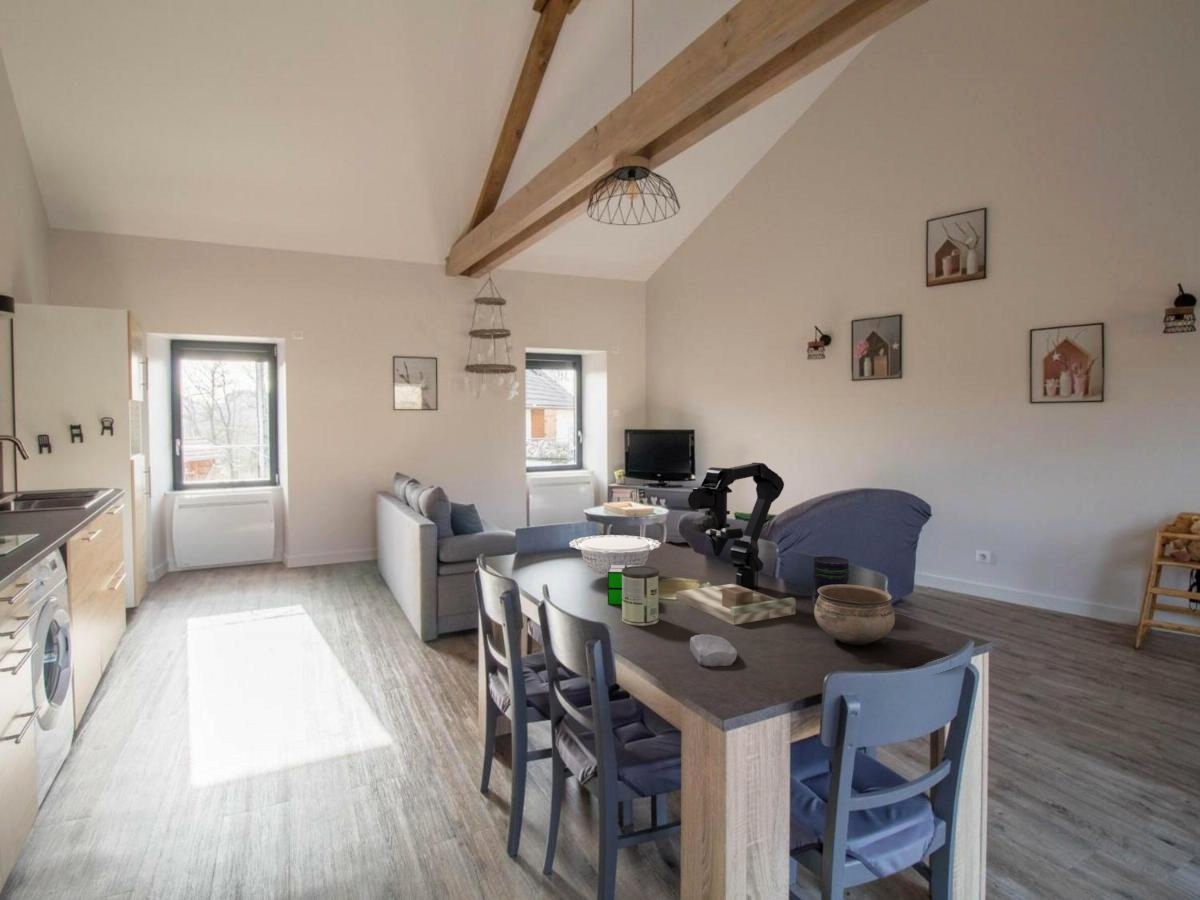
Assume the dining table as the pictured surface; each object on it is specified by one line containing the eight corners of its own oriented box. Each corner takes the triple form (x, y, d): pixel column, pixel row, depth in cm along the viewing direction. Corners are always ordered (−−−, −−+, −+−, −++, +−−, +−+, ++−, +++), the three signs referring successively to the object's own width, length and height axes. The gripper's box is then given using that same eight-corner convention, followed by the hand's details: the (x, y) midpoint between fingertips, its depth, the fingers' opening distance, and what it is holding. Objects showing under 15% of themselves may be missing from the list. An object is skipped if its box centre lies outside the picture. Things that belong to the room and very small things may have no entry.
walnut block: (738, 603, 194) (739, 586, 193) (752, 608, 188) (752, 591, 188) (722, 605, 191) (722, 588, 191) (735, 611, 185) (735, 593, 185)
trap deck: (733, 591, 217) (733, 577, 216) (795, 614, 192) (795, 598, 191) (675, 599, 206) (676, 585, 206) (733, 624, 182) (733, 608, 181)
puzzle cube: (642, 597, 210) (642, 565, 209) (641, 606, 200) (641, 572, 199) (610, 596, 211) (610, 564, 210) (607, 605, 201) (607, 571, 200)
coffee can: (627, 613, 192) (627, 564, 191) (662, 616, 189) (663, 567, 188) (616, 623, 182) (616, 572, 182) (653, 627, 179) (653, 575, 178)
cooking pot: (855, 662, 154) (856, 610, 153) (789, 639, 170) (790, 592, 169) (916, 642, 168) (918, 594, 167) (851, 623, 184) (852, 578, 183)
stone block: (724, 655, 164) (685, 648, 163) (729, 636, 164) (689, 629, 162) (739, 676, 152) (697, 669, 151) (744, 655, 152) (702, 648, 151)
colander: (677, 576, 237) (677, 540, 236) (632, 596, 210) (632, 556, 209) (600, 565, 254) (600, 531, 253) (550, 582, 227) (550, 545, 227)
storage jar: (849, 608, 198) (850, 558, 197) (846, 617, 189) (847, 564, 188) (814, 604, 202) (815, 555, 201) (810, 613, 193) (811, 561, 192)
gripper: (679, 505, 217) (679, 553, 217) (715, 512, 200) (714, 564, 201) (707, 503, 222) (707, 550, 223) (744, 510, 205) (744, 561, 206)
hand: (717, 556), depth 213 cm, fingers closed
